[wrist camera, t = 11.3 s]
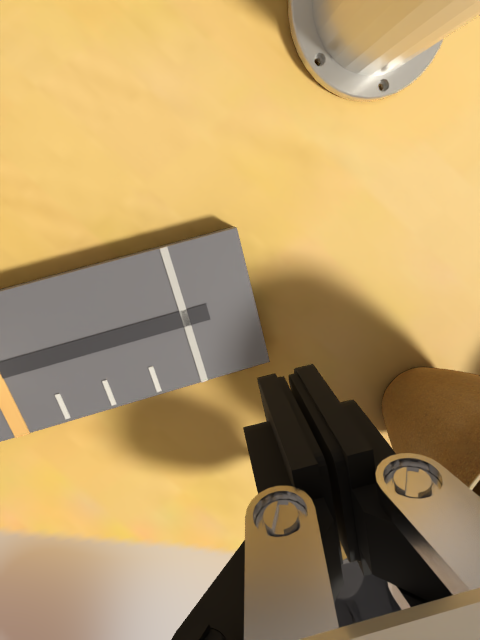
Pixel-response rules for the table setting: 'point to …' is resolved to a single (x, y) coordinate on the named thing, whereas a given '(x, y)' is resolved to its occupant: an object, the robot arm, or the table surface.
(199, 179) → the table surface
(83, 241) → the table surface
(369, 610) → the wine glass
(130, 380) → the console
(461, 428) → the plant pot
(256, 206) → the table surface
